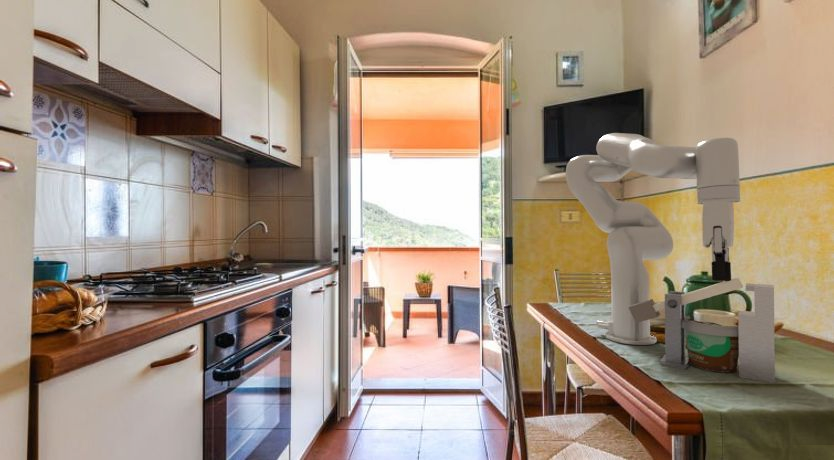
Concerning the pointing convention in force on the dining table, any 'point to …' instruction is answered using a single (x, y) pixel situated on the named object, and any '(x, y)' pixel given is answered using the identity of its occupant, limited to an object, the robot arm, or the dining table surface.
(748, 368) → the post
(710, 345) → the food container
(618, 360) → the dining table surface
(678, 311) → the hinge post
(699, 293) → the beige long bar
